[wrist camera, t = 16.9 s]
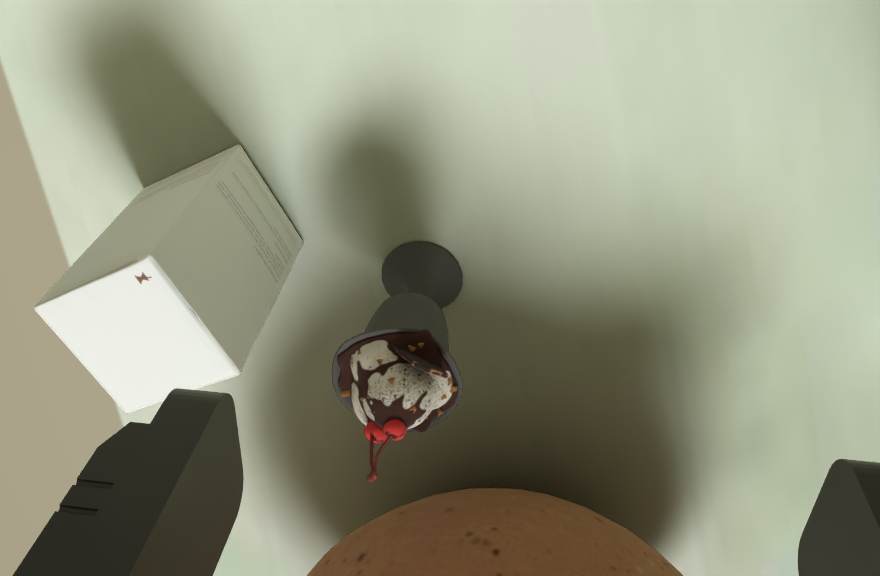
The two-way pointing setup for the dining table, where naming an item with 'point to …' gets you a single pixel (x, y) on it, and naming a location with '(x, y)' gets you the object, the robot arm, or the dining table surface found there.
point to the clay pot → (492, 540)
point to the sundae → (403, 350)
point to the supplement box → (177, 283)
